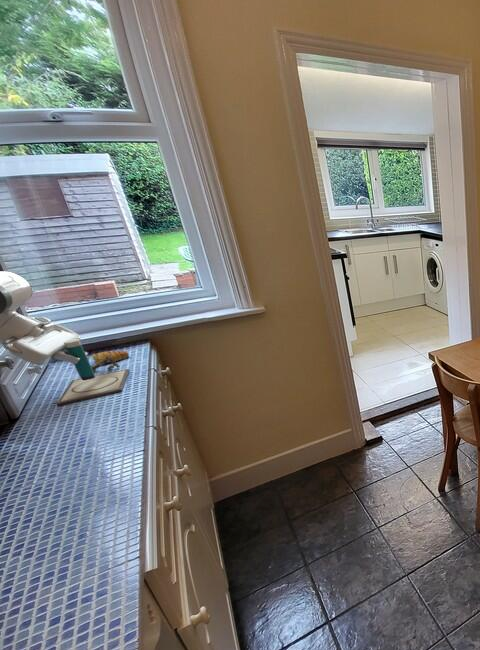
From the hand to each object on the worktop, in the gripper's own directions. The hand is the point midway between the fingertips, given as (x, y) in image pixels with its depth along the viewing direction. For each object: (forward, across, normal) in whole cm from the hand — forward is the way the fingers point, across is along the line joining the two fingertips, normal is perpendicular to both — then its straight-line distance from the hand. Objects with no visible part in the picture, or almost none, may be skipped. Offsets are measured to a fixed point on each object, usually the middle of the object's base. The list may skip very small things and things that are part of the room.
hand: (82, 358), depth 122 cm
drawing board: (+6, +2, +8) cm, 11 cm away
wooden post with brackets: (+4, +19, +10) cm, 22 cm away
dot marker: (+4, 0, +5) cm, 6 cm away
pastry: (+2, +29, +12) cm, 31 cm away
